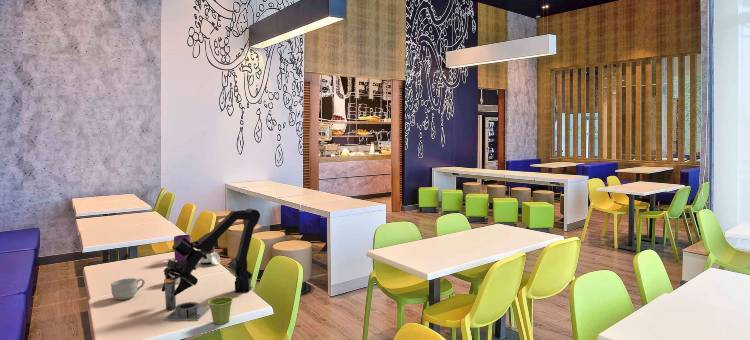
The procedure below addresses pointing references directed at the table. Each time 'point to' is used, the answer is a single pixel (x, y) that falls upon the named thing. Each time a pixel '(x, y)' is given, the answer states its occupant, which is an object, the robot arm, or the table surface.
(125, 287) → the teacup
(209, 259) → the spread jar
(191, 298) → the table surface
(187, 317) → the rosette collar
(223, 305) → the plant pot
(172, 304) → the copper capped metal cylinder
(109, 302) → the table surface
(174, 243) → the robot arm
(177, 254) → the purple box
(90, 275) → the table surface
